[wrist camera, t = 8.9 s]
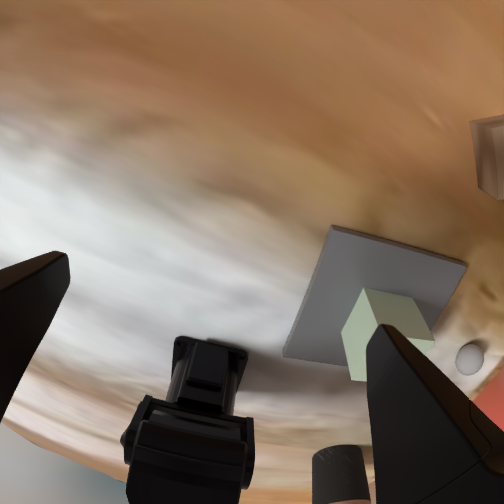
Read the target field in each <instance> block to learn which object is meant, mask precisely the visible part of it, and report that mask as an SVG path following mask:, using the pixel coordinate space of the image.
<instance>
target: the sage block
mask: <svg viewBox="0 0 504 504" xmlns="http://www.w3.org/2000/svg"><path fill="white" fill-rule="evenodd" d="M380 324H388V325H393V326H394V327H395V328H396V329H397V330H399V331H400V332H401V333H402V334H403V335H404V336H405V337H406V338H407V339H408V340H409V341H410V342H411V343H412V344H413V345H414V346H416V347H417V348H418V349H419V350H420V351H421V352H422V353H423V354H424V355H426V354H427V352H428V351H429V350H430V348H431V347H432V345H433V344H434V343H435V340H434V338H433V336H432V334H431V332H430V330H429V328H428V326H427V324H426V322H425V320H424V318H423V316H422V315H421V313H420V311H419V309H418V307H417V305H416V303H415V302H414V300H413V298H411V297H406V296H401V295H397V294H392V293H387V292H382V291H377V290H373V289H368V288H363V289H362V291H361V294H360V296H359V298H358V300H357V302H356V304H355V306H354V308H353V310H352V312H351V314H350V316H349V318H348V320H347V322H346V324H345V326H344V328H343V329H342V331H341V335H342V339H343V344H344V348H345V353H346V357H347V362H348V367H349V371H350V376H351V380H355V381H365V382H367V375H366V346H367V344H368V342H369V340H370V338H371V337H372V335H373V333H374V331H375V330H376V328H377V327H378V325H380Z"/></svg>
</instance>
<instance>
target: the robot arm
mask: <svg viewBox="0 0 504 504" xmlns="http://www.w3.org/2000/svg"><path fill="white" fill-rule="evenodd" d="M69 284H70V269H69V259H68V256H67V254H66V253H63V252H59V251H52V252H49V253H46V254H43V255H40V256H37V257H34V258H31V259H28V260H26V261H23V262H20V263H17V264H14V265H12V266H9V267H6V268H4V269H1V270H0V423H1V420H2V418H3V416H4V414H5V411H6V409H7V407H8V405H9V403H10V400H11V398H12V396H13V394H14V392H15V390H16V388H17V386H18V384H19V382H20V380H21V378H22V376H23V374H24V372H25V370H26V368H27V366H28V364H29V362H30V360H31V359H32V357H33V355H34V353H35V351H36V349H37V348H38V346H39V344H40V342H41V340H42V339H43V337H44V335H45V333H46V332H47V330H48V328H49V326H50V324H51V322H52V320H53V318H54V316H55V314H56V311H57V309H58V307H59V305H60V303H61V301H62V299H63V297H64V295H65V293H66V291H67V289H68V287H69ZM180 342H181V343H180ZM247 360H248V353H247V352H246V351H243V350H238V349H233V348H228V347H223V346H219V345H214V344H210V343H205V342H201V341H196V340H192V339H188V338H184V337H176V338H175V341H174V348H173V361H172V375H171V383H170V386H169V390H168V393H167V397H166V400H165V401H164V400H160V399H157V398H153V397H152V396H150V395H145V397H144V399H143V401H141V402H140V404H139V405H138V407H137V410H136V412H135V414H134V417H133V419H132V421H131V423H130V425H129V426H128V428H127V429H126V430H125V432H124V433H123V434H122V436H121V439H120V443H121V444H122V446H123V448H124V462H125V464H128V465H130V467H129V473H128V478H127V484H126V495H127V498H128V501H129V504H239V498H240V493H241V489H245V490H246V489H248V487H249V485H250V482H251V479H252V475H253V470H254V463H255V441H254V421H253V418H251V417H246V418H245V417H239V416H233V412H234V404H235V395H236V393H237V390H238V387H239V384H240V381H241V378H242V375H243V372H244V369H245V366H246V363H247ZM366 375H367V399H368V408H369V416H370V425H371V435H372V446H373V457H374V470H375V485H376V504H504V432H503V431H502V430H501V429H500V428H499V427H498V426H497V425H496V424H495V423H493V422H492V421H491V420H490V419H489V418H488V417H487V416H486V415H485V414H484V413H483V412H482V411H481V410H480V409H479V408H478V407H477V406H476V405H475V404H474V403H473V402H472V401H471V400H469V398H468V397H467V396H466V395H465V394H464V393H463V392H462V391H461V390H460V389H459V388H458V387H457V386H456V385H455V384H454V383H453V382H452V381H451V380H450V379H449V378H448V377H447V376H446V375H445V374H444V373H443V372H442V371H441V370H440V369H439V368H437V367H436V366H435V365H434V364H433V363H432V362H431V361H430V360H429V359H428V358H427V357H426V356H425V355H424V354H423V353H422V352H421V351H420V350H419V349H418V348H417V347H416V346H414V345H413V344H412V343H411V342H410V341H409V340H408V339H407V338H406V337H405V336H404V335H403V334H402V333H401V332H400V331H399V330H397V329H396V328H395V327H394V326H393V325H388V324H380V325H378V327H377V328H376V330H375V331H374V333H373V335H372V337H371V338H370V340H369V342H368V344H367V346H366Z"/></svg>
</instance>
